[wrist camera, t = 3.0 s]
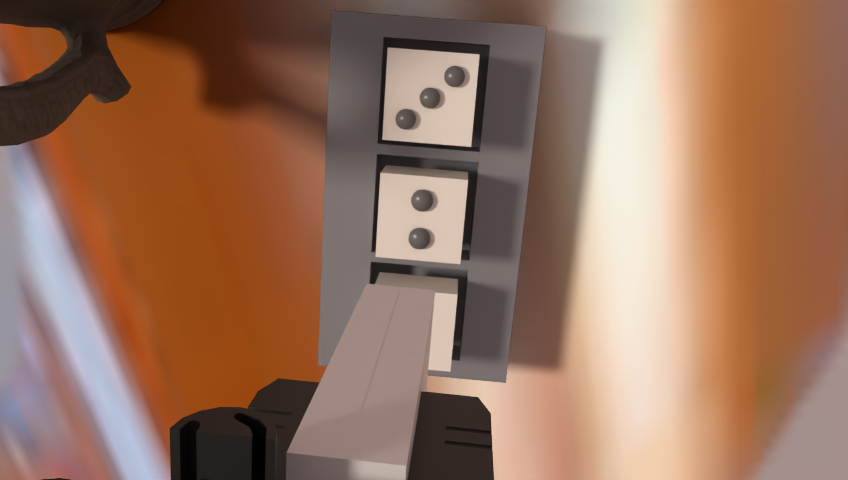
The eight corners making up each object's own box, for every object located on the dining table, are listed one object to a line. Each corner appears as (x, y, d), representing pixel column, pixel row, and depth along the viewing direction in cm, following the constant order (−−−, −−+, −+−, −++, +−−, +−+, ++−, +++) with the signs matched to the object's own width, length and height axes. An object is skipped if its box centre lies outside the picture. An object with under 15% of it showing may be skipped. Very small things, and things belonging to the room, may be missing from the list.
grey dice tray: (328, 342, 39) (318, 365, 36) (342, 14, 34) (331, 10, 32) (502, 358, 39) (505, 382, 36) (539, 29, 34) (546, 26, 31)
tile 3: (388, 134, 33) (381, 140, 30) (393, 48, 32) (387, 47, 29) (470, 140, 33) (471, 147, 30) (478, 55, 32) (479, 54, 29)
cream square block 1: (375, 344, 36) (368, 365, 33) (379, 272, 35) (373, 288, 32) (451, 351, 35) (450, 373, 33) (457, 279, 34) (457, 295, 32)
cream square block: (381, 243, 34) (375, 257, 32) (386, 165, 33) (380, 173, 31) (460, 250, 34) (460, 265, 32) (467, 171, 33) (468, 180, 31)
